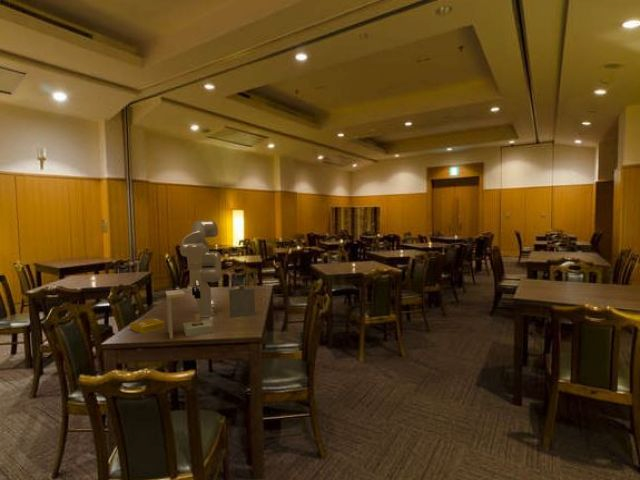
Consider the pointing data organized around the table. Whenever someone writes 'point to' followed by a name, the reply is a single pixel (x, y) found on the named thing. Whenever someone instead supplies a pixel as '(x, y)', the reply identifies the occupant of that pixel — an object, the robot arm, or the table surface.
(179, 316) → the table surface
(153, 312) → the table surface
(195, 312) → the peg
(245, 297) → the hip flask
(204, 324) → the socket block
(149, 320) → the element tile
